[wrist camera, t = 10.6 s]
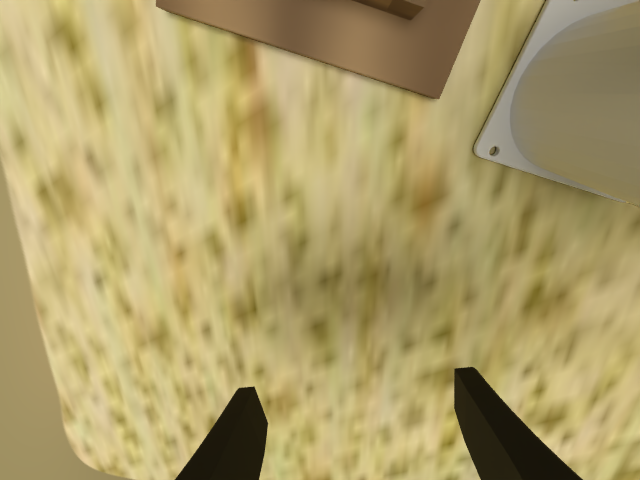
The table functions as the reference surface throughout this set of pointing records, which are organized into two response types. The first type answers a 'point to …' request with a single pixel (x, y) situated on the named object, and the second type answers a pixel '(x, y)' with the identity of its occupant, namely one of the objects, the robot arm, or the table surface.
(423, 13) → the brown piece
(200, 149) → the table surface
